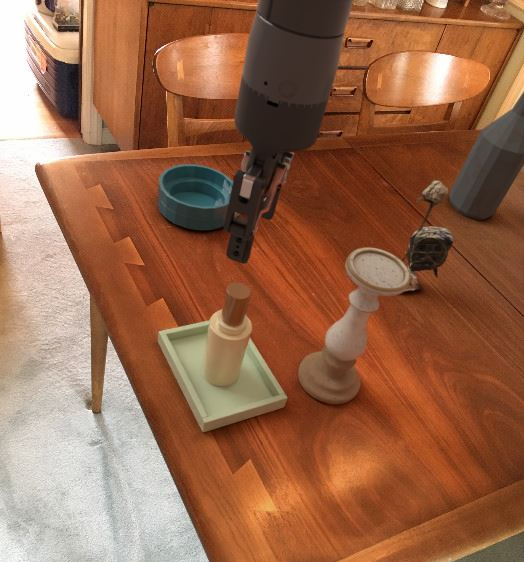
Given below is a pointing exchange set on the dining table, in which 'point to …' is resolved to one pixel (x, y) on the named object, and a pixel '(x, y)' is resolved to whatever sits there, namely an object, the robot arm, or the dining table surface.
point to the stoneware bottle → (227, 338)
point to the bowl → (194, 196)
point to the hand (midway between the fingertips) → (250, 236)
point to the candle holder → (352, 326)
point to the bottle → (491, 166)
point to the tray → (214, 399)
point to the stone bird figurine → (428, 239)
